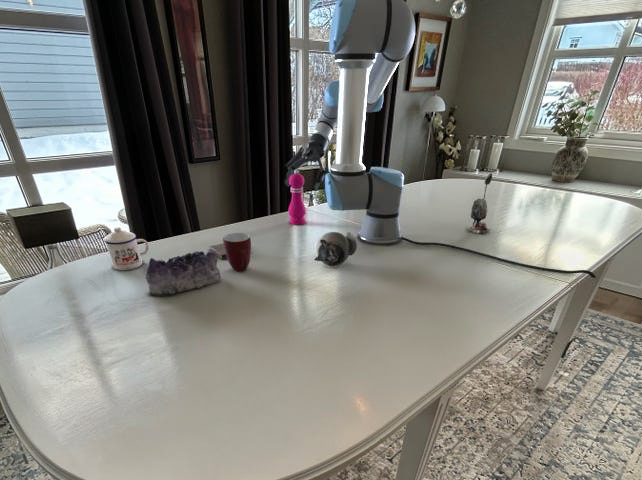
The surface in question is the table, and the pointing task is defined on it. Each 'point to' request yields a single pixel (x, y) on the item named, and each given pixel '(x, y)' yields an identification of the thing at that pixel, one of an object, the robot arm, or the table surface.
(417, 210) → the table surface
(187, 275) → the geode
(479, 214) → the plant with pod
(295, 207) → the pepper mill
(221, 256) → the grey angular chunk
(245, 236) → the mug
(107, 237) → the teacup with lid
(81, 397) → the table surface
